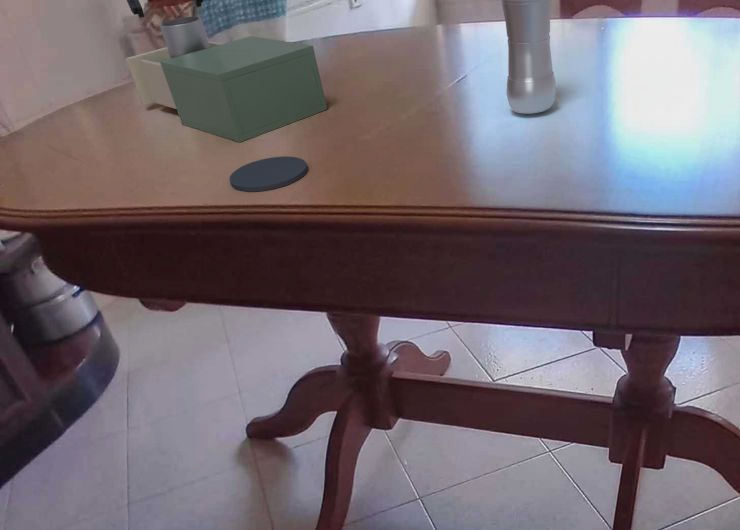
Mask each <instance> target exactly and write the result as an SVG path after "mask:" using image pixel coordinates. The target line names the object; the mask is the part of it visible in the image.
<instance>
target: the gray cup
mask: <svg viewBox="0 0 740 530" xmlns="http://www.w3.org/2000/svg"><path fill="white" fill-rule="evenodd" d="M158 25H159V29H160V32H161V35H162V36H163V40H164V43H165V46H166V47H167V49H168V52H169V55H170V58H175V57H179V56H182V55H186V54H189V53H193V52H196V51H200V50H203V49H207V48H210V44H209V41H208V38H207V37H208V35H207V32H206V29H205V26H204V22H203V20H202V17H201V16H183V17H177V18H172V19H168V20H165V21H162V22H160V23H159V24H158Z"/></svg>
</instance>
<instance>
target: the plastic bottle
mask: <svg viewBox="0 0 740 530" xmlns="http://www.w3.org/2000/svg"><path fill="white" fill-rule="evenodd" d="M500 2H501V6H502V12H503V17H504V22H505V29H506V37H507V47H508V53H507V55H508V57H507V58H508V59H507V60H508V61H507V66H508V68H507V71H508V73H507V74H508V75H507V80H506V98H507V101H508V105H509V107H510V108H511V109H512V111H513V112H515V113H518V114H529V115H530V114H538V113H542V112H545V111H547V110H549V109H551V108H552V107H553V105H554V103H555V101H556V96H557V83H556V77H555V74H554V71H553V61H552V51H551V35H550V33H551V13H552V4H553V3H552V2H553V0H501V1H500Z"/></svg>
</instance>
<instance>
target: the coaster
mask: <svg viewBox="0 0 740 530" xmlns="http://www.w3.org/2000/svg"><path fill="white" fill-rule="evenodd" d="M308 170H309V169H308V164H307V162H306V161H305V160H304V159H302V158H300V157H297V156H296V157H295V156H272V157H268V158H267V157H265V158H261V159H258V160H255V161H252V162H249V163H247V164H244V165H242V166H240V167H238V168H237V169H235V170H234V171H233V172H232V173H231V174H230V176H229V179H228V180H229V182H230V186H231V187H232V188H233V189H235V190H238V191H242V192H252V193H253V192H264V191H265V192H266V191H271V190H276V189H280V188H282V187H286V186H288V185H291V184H293V183H295V182H297V181H299V180H300V179H302V178H304V177H305V175H306V174H307V173H308Z"/></svg>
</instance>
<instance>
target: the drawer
mask: <svg viewBox="0 0 740 530" xmlns="http://www.w3.org/2000/svg"><path fill="white" fill-rule="evenodd" d="M207 38H208V41H209V44H210V47H214V46H218V45H221V44H225V43H223V42H217V41H211V40H210V37H209V36H207ZM124 59H125V62H126V64H127V67H128V70H129V72H130V75H131V78H132V80H133V83H134V86H135V88H136V91H137V93H138V97H139V99H140V101H141V104H142V105H144V106H149V105H151V104H158V105H160V106H161V105H162V106H165V107H167V108H172V109H175V110H177V108H176V106H175V103H174V100H173V97H172V94H171V92H170V89H169V86H168V83H167V80H166V78H165V75H164V72H163V68H162V66H161V64H160V62H161V61H164V60H168V59H171V58H170V55H169V52H168V49H167V46H166V47H162V48H159V49H154V50H151V51H150V50H149V51H147V52H143V53H139V54H136V55H131V56H129V57H125V58H124Z"/></svg>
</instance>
